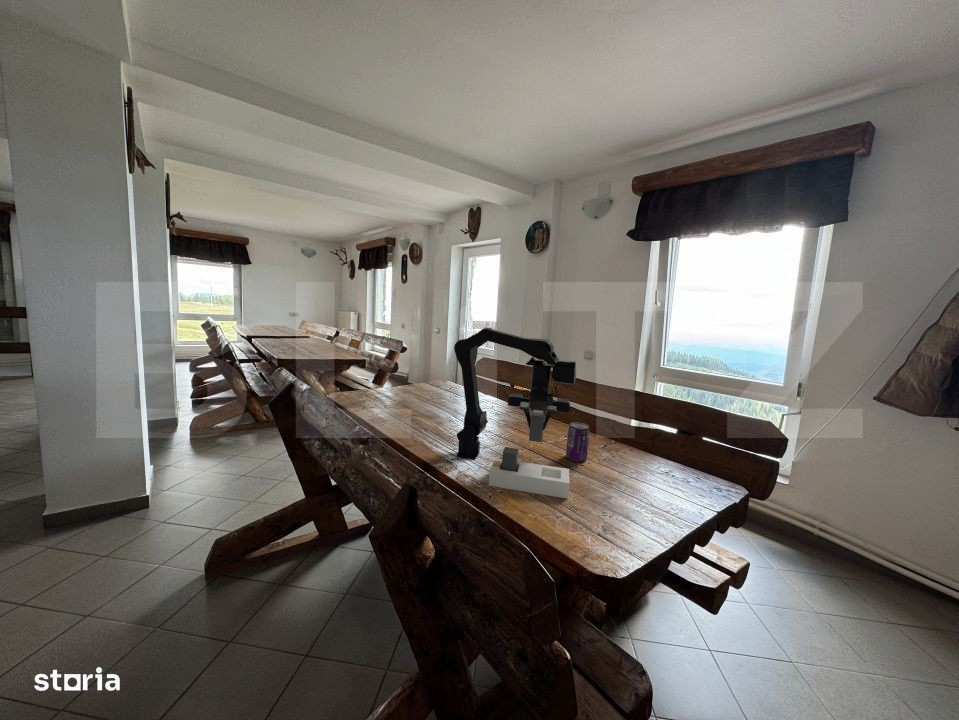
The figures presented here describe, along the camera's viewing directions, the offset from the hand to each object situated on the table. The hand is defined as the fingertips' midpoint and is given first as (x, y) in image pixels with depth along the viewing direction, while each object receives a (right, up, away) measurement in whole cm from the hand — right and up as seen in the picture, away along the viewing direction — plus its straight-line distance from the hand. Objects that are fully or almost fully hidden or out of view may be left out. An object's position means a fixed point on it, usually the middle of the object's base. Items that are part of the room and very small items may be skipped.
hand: (536, 428), depth 115 cm
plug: (0, -3, +1) cm, 3 cm away
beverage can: (+15, -13, +11) cm, 23 cm away
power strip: (-4, -14, -9) cm, 17 cm away
